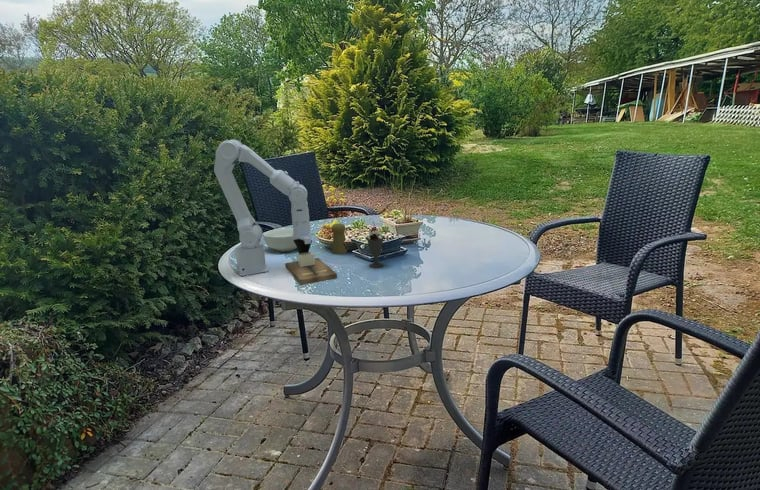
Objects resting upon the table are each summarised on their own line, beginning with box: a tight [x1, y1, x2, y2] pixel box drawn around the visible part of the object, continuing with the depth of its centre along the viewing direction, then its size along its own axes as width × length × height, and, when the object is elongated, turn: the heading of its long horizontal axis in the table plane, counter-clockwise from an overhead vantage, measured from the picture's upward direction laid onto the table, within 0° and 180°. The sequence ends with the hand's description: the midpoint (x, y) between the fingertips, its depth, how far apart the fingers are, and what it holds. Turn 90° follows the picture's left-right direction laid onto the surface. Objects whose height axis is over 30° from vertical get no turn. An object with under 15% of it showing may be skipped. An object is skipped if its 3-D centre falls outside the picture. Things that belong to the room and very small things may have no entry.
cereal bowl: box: [262, 227, 297, 252], centre depth 179 cm, size 17×17×7 cm
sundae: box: [364, 221, 386, 269], centre depth 152 cm, size 7×7×15 cm
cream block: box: [297, 251, 315, 267], centre depth 152 cm, size 5×3×4 cm, turn 115°
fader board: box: [284, 257, 338, 286], centre depth 150 cm, size 12×20×2 cm, turn 25°
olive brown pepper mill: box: [331, 223, 348, 255], centre depth 171 cm, size 6×6×11 cm
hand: (304, 259), depth 155 cm, fingers closed
